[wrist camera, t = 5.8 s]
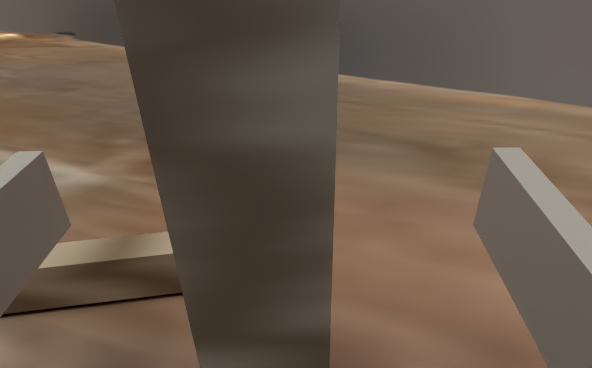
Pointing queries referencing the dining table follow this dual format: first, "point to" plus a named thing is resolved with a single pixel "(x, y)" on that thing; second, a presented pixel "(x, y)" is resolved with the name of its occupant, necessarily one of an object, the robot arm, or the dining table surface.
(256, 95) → the open rectangular frame
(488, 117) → the dining table surface
